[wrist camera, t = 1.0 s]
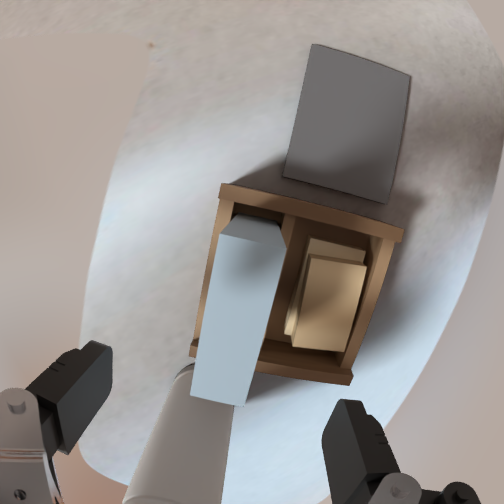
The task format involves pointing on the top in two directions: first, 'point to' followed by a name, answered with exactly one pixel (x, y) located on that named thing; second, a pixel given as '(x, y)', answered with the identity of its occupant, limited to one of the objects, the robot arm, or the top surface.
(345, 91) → the mat
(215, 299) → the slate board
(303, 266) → the offcut lower
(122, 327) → the top surface
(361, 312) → the rack
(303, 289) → the offcut upper
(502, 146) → the top surface
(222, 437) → the travel mug
